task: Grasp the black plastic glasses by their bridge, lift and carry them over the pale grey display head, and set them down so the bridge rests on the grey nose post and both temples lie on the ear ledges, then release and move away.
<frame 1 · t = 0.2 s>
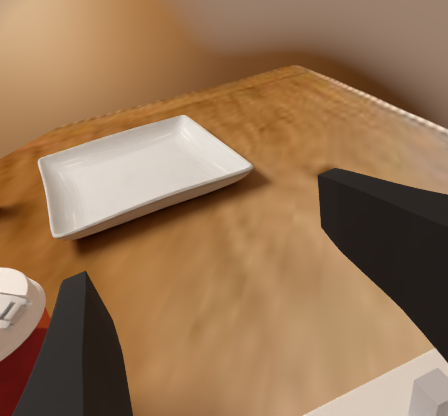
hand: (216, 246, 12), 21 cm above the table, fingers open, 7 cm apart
square plate: (140, 182, 63), on the table
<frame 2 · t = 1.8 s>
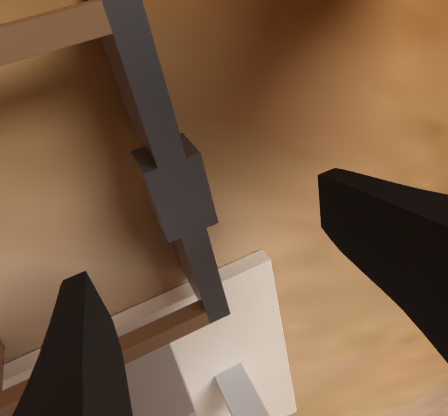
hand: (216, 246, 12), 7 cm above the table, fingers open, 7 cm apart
glasses: (154, 156, 17), on the table
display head: (224, 364, 26), on the table
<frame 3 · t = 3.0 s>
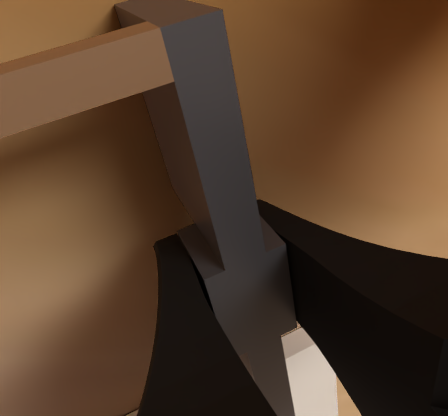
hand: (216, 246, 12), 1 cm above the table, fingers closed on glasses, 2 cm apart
glasses: (200, 221, 13), on the table, touching gripper
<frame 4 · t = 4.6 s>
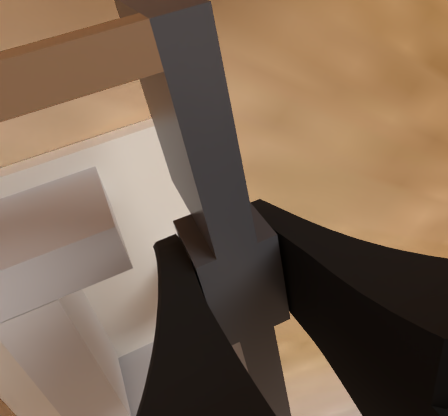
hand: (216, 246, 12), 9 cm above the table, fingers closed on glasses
glasses: (198, 213, 13), point 8 cm above the table, touching gripper
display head: (179, 250, 23), on the table
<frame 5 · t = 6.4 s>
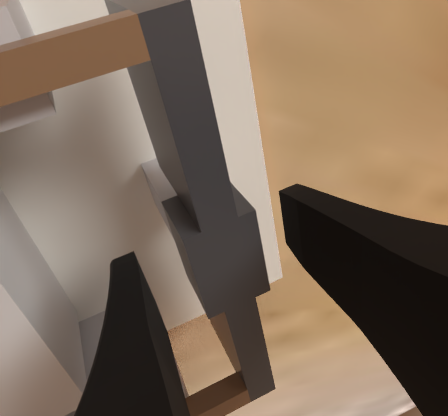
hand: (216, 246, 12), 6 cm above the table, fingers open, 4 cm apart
glasses: (185, 198, 14), point 3 cm above the table, touching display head
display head: (163, 165, 16), on the table
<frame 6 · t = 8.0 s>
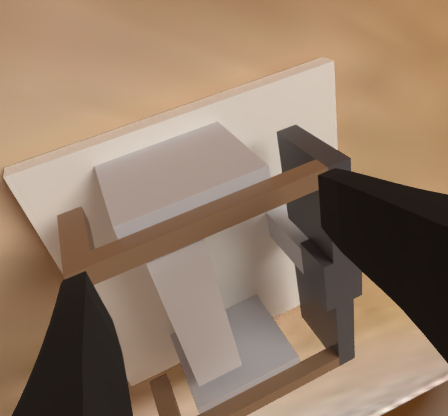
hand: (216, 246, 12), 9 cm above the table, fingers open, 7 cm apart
glasses: (299, 236, 22), point 3 cm above the table, touching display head
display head: (273, 209, 24), on the table
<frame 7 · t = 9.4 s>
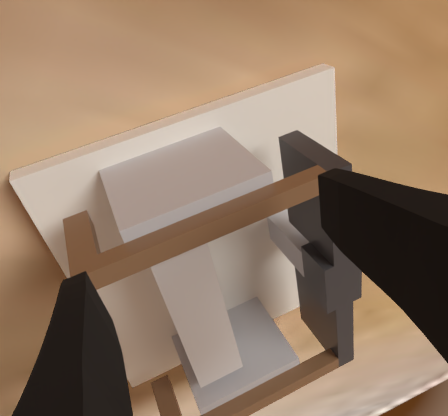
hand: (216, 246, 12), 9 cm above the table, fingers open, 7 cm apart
glasses: (299, 239, 22), point 3 cm above the table, touching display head
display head: (273, 213, 25), on the table
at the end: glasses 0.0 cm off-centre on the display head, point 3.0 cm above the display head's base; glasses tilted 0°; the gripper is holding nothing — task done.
